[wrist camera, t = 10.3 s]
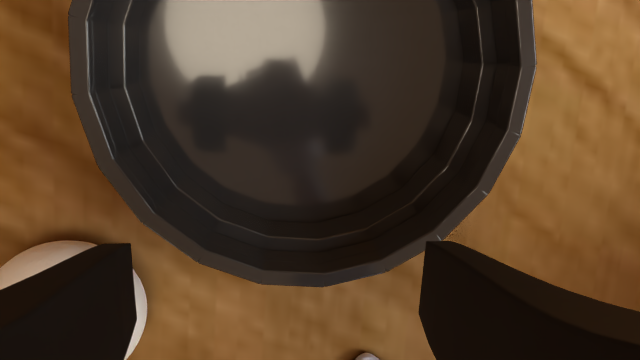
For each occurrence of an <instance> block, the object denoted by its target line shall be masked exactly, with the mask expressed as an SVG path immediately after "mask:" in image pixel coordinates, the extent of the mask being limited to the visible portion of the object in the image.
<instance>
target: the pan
mask: <svg viewBox="0 0 640 360" xmlns="http://www.w3.org/2000/svg"><path fill="white" fill-rule="evenodd" d="M68 15H69V16H68V29H69V53H70V77H71V93H72V94H73V95H72V98H73V101H74V104H75V106H76V109H77V112H78V115H79V117H80V120H81V123H82V125H83V128H84V131H85V133H86V136H87V139H88V141H89V144H90V147H91V150H92V152H93V155H94V158H95V160H96V163H97V165H99V166H98V167H99V169H100V170H101V171H102V173H103V174H104V175H105V176H106V178H107V179H108V180H109V182H110V183H111V184H112V185H113V187H114V188H115V189H116V191H117V192H118V193H119V195H120V196H121V197H122V198H123V200H124V201H125V202H126V204H127V205H128V206H129V207H130V209H131V210H132V211H133V213H134V214H135V215H136V217H137V218H138V219H139V220H140V222H141V223H142V222H143V224H144V225H145V226H147V227H148V228H150V229H151V230H152V231H154V232H155V233H157V234H158V235H159V236H161V237H162V238H164V239H165V240H166V241H168V242H169V243H171V244H172V245H173V246H175V247H176V248H178V249H179V250H180V251H182V252H183V253H185V254H186V255H188V256H189V257H190V258H192V259H193V260H195V261H196V262H198V263H199V264H202V265H205V266H208V267H211V268H214V269H217V270H220V271H223V272H226V273H229V274H232V275H234V276H237V277H240V278H243V279H246V280H249V281H252V282H255V283H258V284H263V285H285V286H306V287H324V286H325V287H327V286H331V285H335V284H339V283H344V282H348V281H352V280H356V279H360V278H365V277H369V276H373V275H377V274H381V273H385V272H387V271H389V270H391V269H393V268H395V267H397V266H398V265H400V264H402V263H404V262H405V261H407V260H409V259H411V258H413V257H414V256H416V255H418V254H420V253H421V252H423V251H425V248H426V241H441V240H444V239H445V238H446V237H447V236H448V234H449V233H450V232H451V231H452V230H453V229H454V228H455V227H456V226H457V225H458V224H459V223H460V222H461V221H462V220H463V219H464V218H465V217H466V216H467V215H468V214H469V213H470V212H471V211H472V210H473V209H474V208H475V207H476V206H477V205H478V204H479V203H480V202H481V201H482V200H483V199H484V198H485V197H486V196H487V195H488V194H489V193H490V191H491V189H492V187H493V186H494V184H495V182H496V180H497V178H498V176H499V175H500V173H501V171H502V169H503V167H504V166H505V164H506V162H507V160H508V158H509V157H510V155H511V153H512V151H513V149H514V148H515V146H516V144H517V142H518V140H519V138H520V137H521V135H520V134H521V133H522V129H523V125H524V121H525V116H526V112H527V107H528V103H529V98H530V94H531V90H532V85H533V81H534V76H535V72H536V66H535V65H537V60H536V46H535V32H534V17H533V3H532V0H72V2H71V5H70V9H69V12H68Z"/></svg>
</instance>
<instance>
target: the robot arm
mask: <svg viewBox="0 0 640 360" xmlns="http://www.w3.org/2000/svg"><path fill="white" fill-rule="evenodd" d="M419 316H420V319H421V322H422V325H423V328H424V331H425V334H426V337H427V340H428V343H429V345H430V348H431V350H432V352H433V354H434V356H435V358H436V360H640V312H639V311H635V310H631V309H627V308H623V307H619V306H616V305H612V304H609V303H605V302H602V301H598V300H595V299H592V298H589V297H586V296H583V295H580V294H577V293H574V292H571V291H568V290H565V289H563V288H560V287H557V286H554V285H552V284H549V283H547V282H545V281H542V280H540V279H537V278H535V277H532V276H530V275H528V274H525V273H523V272H521V271H519V270H516V269H514V268H512V267H510V266H507V265H505V264H503V263H501V262H499V261H497V260H495V259H492V258H490V257H488V256H486V255H484V254H482V253H480V252H477V251H475V250H473V249H471V248H468V247H466V246H464V245H461V244H458V243H455V242H452V241H426V248H425V257H424V266H423V276H422V285H421V295H420V304H419ZM136 321H137V312H136V301H135V289H134V278H133V267H132V255H131V244H130V243H118V244H101V245H97V246H95V247H92V248H90V249H87V250H85V251H83V252H81V253H79V254H77V255H74V256H72V257H70V258H68V259H66V260H64V261H62V262H60V263H58V264H56V265H54V266H52V267H50V268H47V269H45V270H43V271H41V272H39V273H37V274H35V275H33V276H30V277H28V278H26V279H24V280H21V281H19V282H17V283H15V284H12V285H10V286H8V287H6V288H3V289H1V290H0V360H124V358H125V356H126V353H127V350H128V347H129V344H130V341H131V338H132V335H133V331H134V328H135V325H136ZM355 360H379V359H378V358H377V357H375V356H374V355H373V354H370V353H363V354H361V355H359V356H358V357H357V358H356V359H355Z"/></svg>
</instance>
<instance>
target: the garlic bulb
mask: <svg viewBox="0 0 640 360" xmlns="http://www.w3.org/2000/svg"><path fill="white" fill-rule="evenodd" d="M95 246H97V245H96V244H92V243H89V242H83V241H68V240H64V241H54V242H49V243H48V242H47V243H43V244H40V245H37V246H34V247H32V248H29V249H27V250H25V251H23V252H21V253H19V254H18V255H16V256H15V257H13V258H12V259H10V260H9V261H8V262H7V263H6V264H4V265H3V266H2V267H1V268H0V290H1V289H3V288H6V287H8V286H10V285H12V284H15V283H17V282H19V281H21V280H24V279H26V278H28V277H30V276H33V275H35V274H37V273H39V272H41V271H43V270H45V269H47V268H50V267H52V266H54V265H56V264H58V263H60V262H62V261H64V260H66V259H68V258H70V257H72V256H74V255H77V254H79V253H81V252H83V251H85V250H87V249H90V248H92V247H95ZM133 278H134V289H135V301H136V312H137V321H136V325H135V328H134V331H133V335H132V338H131V341H130V344H129V347H128V350H127V353H126V356H125V358H124V360H126V359H127V358H128V357H129V356H130V354H131V353H132V352H133V350H134V349H135V347H136V346H137V344H138V342H139V340H140V338H141V336H142V333H143V330H144V327H145V323H146V318H147V299H146V294H145V291H144V288H143V285H142V283H141V281H140V278H139V277H138V276H137V274H136V273H135V271H134V269H133Z"/></svg>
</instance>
